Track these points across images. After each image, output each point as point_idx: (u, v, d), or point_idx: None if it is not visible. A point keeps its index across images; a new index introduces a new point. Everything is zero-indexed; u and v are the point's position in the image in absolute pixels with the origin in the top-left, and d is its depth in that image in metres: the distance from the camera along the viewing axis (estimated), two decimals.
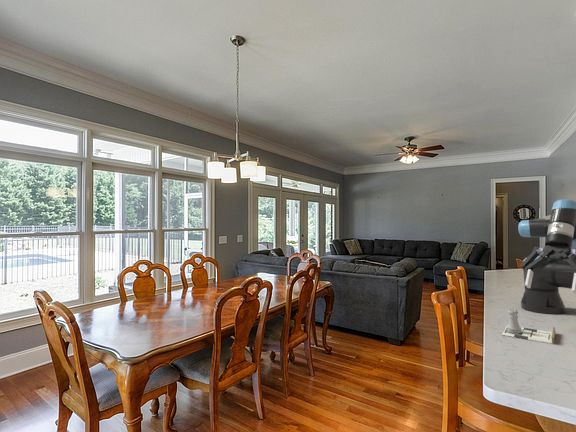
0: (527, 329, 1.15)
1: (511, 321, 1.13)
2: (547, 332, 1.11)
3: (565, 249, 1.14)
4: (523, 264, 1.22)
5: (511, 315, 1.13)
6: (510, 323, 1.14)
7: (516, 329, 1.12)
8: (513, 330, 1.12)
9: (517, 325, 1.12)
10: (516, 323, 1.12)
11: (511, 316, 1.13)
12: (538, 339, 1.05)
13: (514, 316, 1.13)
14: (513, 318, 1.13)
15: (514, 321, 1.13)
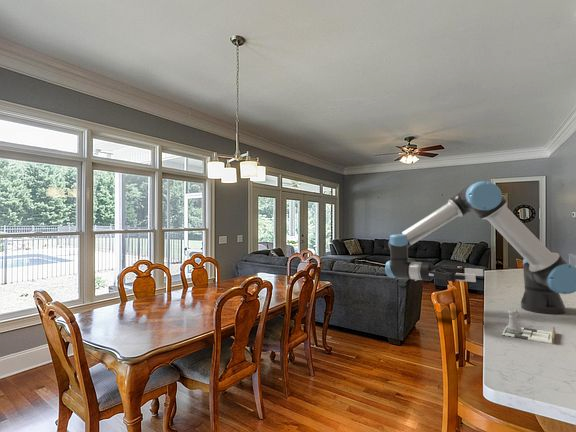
0: (527, 329, 1.15)
1: (511, 321, 1.13)
2: (547, 332, 1.11)
3: None
4: (461, 273, 1.33)
5: (511, 315, 1.13)
6: (510, 323, 1.14)
7: (516, 329, 1.12)
8: (513, 330, 1.12)
9: (517, 325, 1.12)
10: (516, 323, 1.12)
11: (511, 316, 1.13)
12: (538, 339, 1.05)
13: (514, 316, 1.13)
14: (513, 318, 1.13)
15: (514, 321, 1.13)
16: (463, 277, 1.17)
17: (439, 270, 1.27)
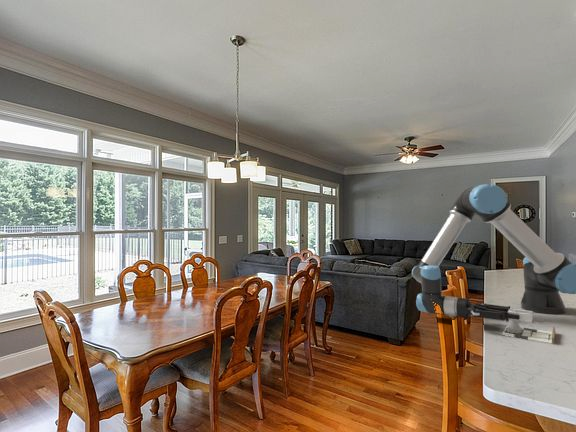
0: (527, 329, 1.15)
1: (511, 321, 1.13)
2: (547, 332, 1.11)
3: None
4: None
5: None
6: (510, 323, 1.13)
7: (516, 329, 1.12)
8: (513, 330, 1.12)
9: (517, 325, 1.12)
10: (516, 323, 1.12)
11: None
12: (538, 339, 1.05)
13: None
14: None
15: (514, 321, 1.13)
16: (518, 317, 1.10)
17: (481, 308, 1.18)
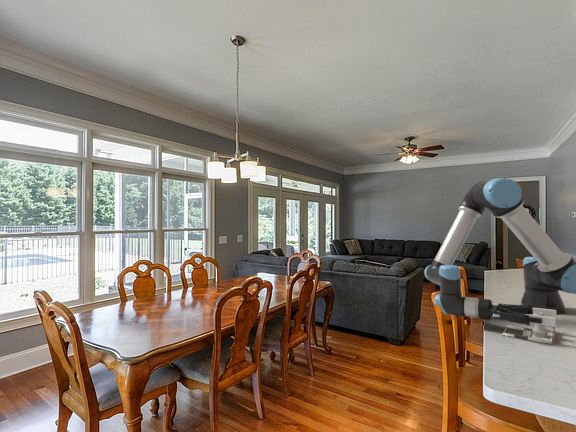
0: (527, 329, 1.15)
1: (537, 324, 1.08)
2: None
3: None
4: None
5: None
6: (536, 326, 1.09)
7: (543, 333, 1.07)
8: (539, 334, 1.07)
9: (544, 328, 1.07)
10: (543, 326, 1.08)
11: None
12: (538, 339, 1.05)
13: None
14: None
15: None
16: (540, 320, 1.04)
17: (503, 309, 1.13)
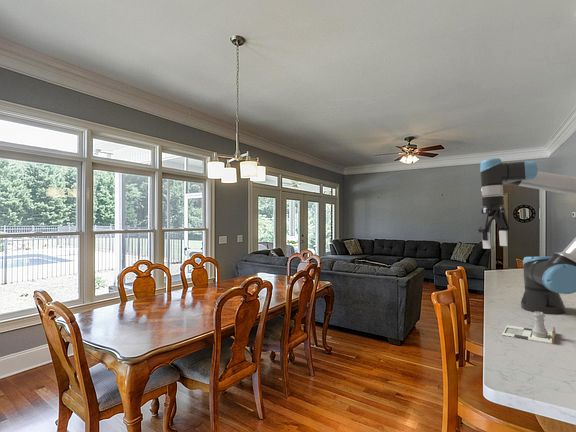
0: (527, 329, 1.15)
1: (537, 324, 1.08)
2: None
3: None
4: None
5: (537, 318, 1.08)
6: (536, 326, 1.09)
7: (543, 333, 1.07)
8: (539, 334, 1.07)
9: (544, 328, 1.07)
10: (542, 326, 1.08)
11: (537, 319, 1.08)
12: (538, 339, 1.05)
13: (540, 319, 1.08)
14: (539, 321, 1.08)
15: (540, 324, 1.08)
16: (485, 239, 1.28)
17: (493, 215, 1.29)
